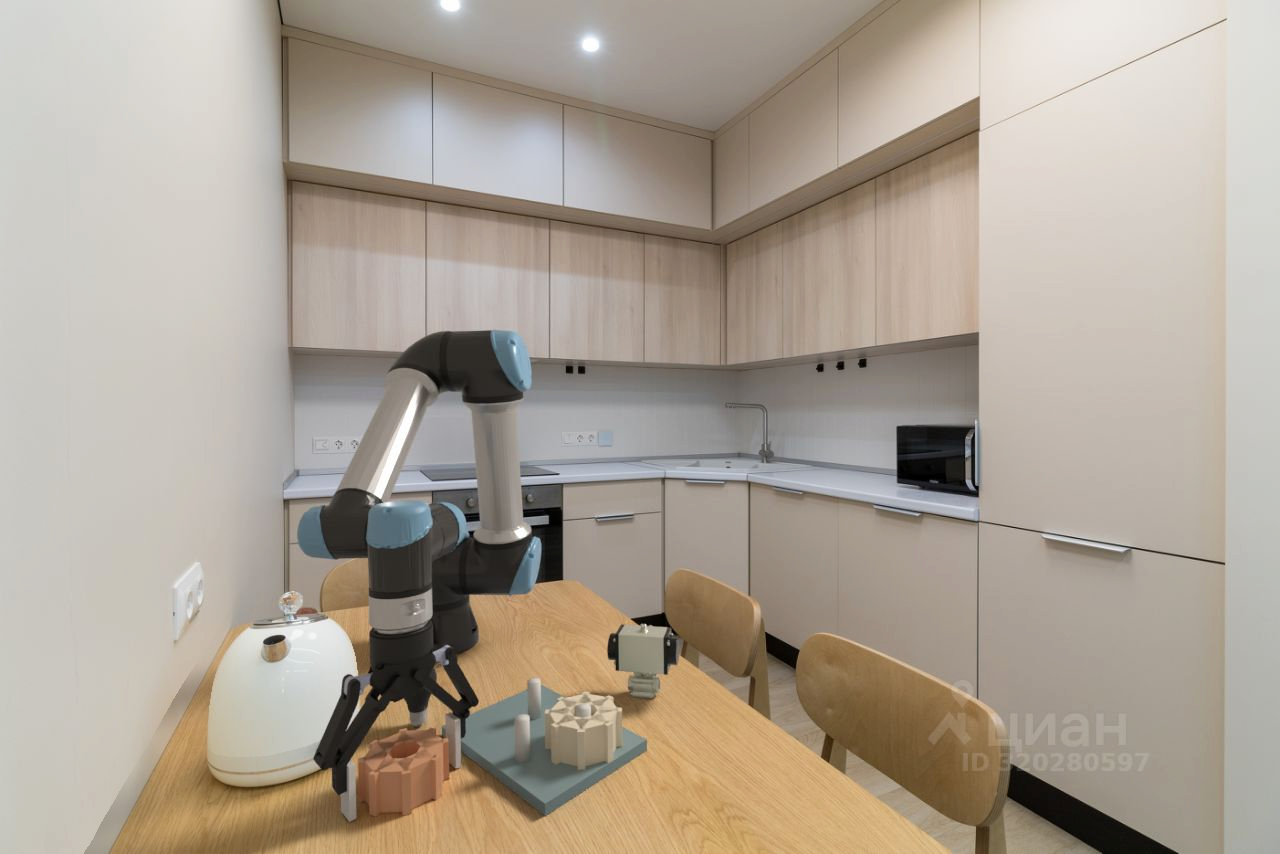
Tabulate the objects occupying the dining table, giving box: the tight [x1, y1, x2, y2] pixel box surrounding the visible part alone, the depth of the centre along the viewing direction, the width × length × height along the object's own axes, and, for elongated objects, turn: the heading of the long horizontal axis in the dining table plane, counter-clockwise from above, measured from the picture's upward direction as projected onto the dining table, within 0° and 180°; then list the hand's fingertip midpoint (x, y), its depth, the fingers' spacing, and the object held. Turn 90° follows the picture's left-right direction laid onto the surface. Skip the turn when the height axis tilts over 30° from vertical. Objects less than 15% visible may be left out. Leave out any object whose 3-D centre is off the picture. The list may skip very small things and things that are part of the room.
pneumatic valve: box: [606, 623, 680, 699], centre depth 98 cm, size 6×12×12 cm, turn 78°
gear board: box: [441, 677, 648, 816], centre depth 83 cm, size 25×18×7 cm
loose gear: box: [357, 727, 450, 817], centre depth 74 cm, size 10×10×5 cm
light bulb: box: [403, 666, 438, 728], centre depth 88 cm, size 6×6×10 cm
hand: (404, 788), depth 73 cm, fingers open, 13 cm apart
